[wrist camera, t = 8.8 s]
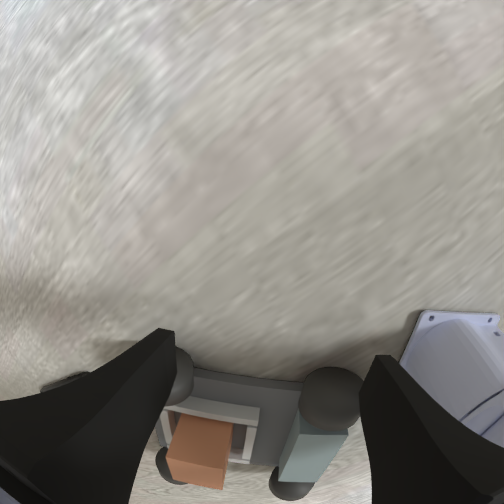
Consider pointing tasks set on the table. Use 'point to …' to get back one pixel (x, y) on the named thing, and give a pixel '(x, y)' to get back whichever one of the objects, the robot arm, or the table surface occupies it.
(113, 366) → the robot arm
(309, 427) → the chassis
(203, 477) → the block
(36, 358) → the table surface
